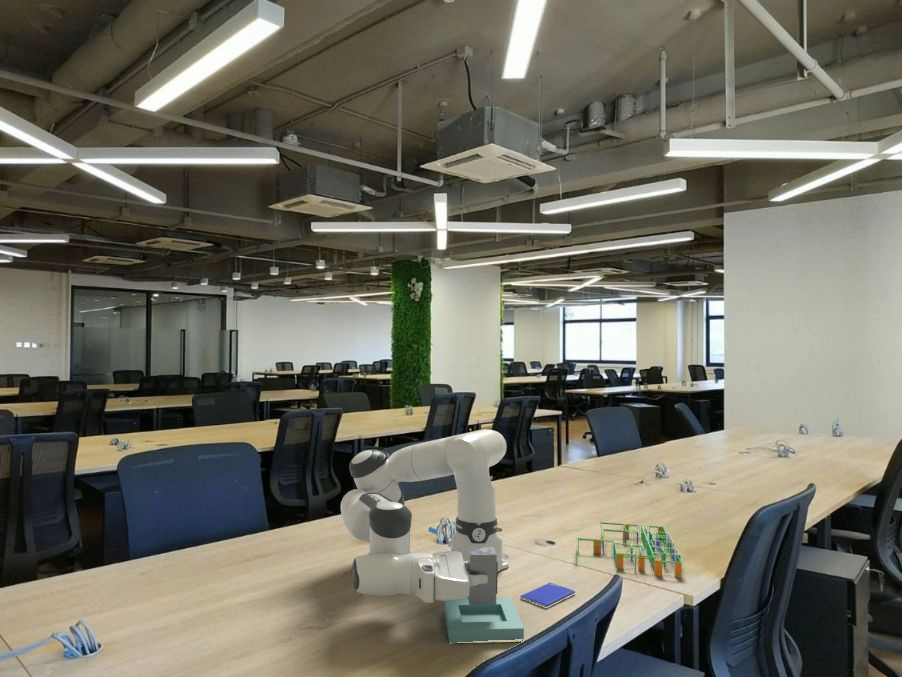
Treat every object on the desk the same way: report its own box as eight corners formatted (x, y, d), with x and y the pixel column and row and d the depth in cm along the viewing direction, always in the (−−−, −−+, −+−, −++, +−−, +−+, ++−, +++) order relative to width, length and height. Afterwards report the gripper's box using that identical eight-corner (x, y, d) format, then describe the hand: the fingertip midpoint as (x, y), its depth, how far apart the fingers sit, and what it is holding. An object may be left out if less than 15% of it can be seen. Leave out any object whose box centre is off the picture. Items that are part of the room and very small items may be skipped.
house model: (684, 579, 169) (684, 562, 169) (576, 570, 175) (576, 553, 175) (665, 541, 204) (665, 526, 204) (575, 534, 209) (575, 520, 209)
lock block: (467, 595, 140) (467, 547, 140) (494, 595, 141) (495, 547, 141) (469, 604, 135) (469, 554, 135) (497, 604, 136) (498, 554, 136)
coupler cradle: (444, 611, 145) (444, 599, 145) (510, 610, 147) (510, 597, 147) (449, 644, 129) (449, 629, 130) (523, 642, 131) (523, 628, 131)
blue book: (549, 581, 162) (520, 594, 154) (575, 590, 157) (546, 604, 148) (549, 587, 162) (519, 601, 154) (575, 596, 157) (546, 611, 148)
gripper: (423, 571, 147) (480, 570, 148) (425, 606, 127) (491, 605, 128) (423, 544, 148) (480, 544, 149) (426, 576, 127) (492, 575, 128)
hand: (485, 572), depth 138 cm, fingers closed on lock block, 5 cm apart
